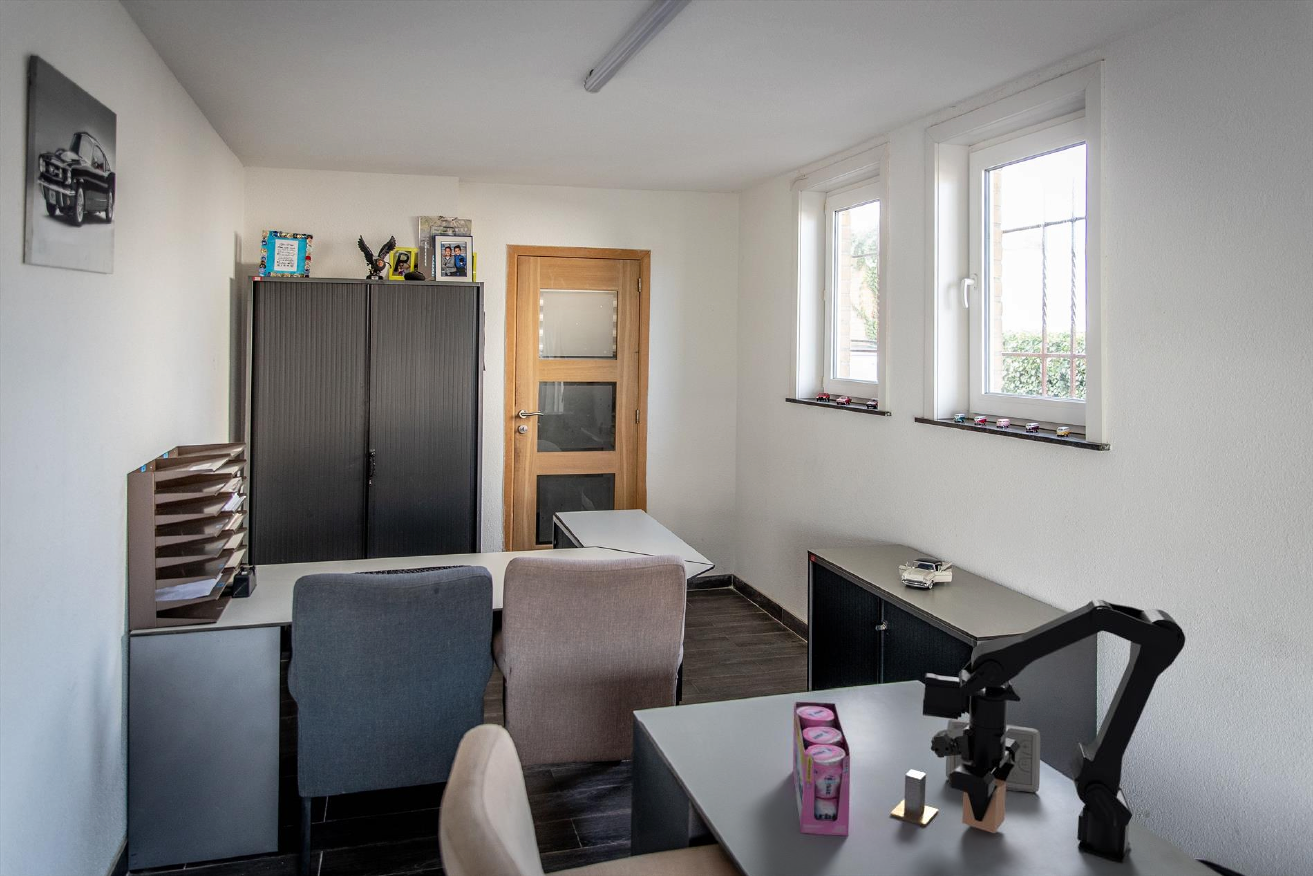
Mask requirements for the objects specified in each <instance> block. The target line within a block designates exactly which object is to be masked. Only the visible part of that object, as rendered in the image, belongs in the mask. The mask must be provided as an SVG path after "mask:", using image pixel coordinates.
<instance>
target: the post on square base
mask: <svg viewBox="0 0 1313 876" xmlns="http://www.w3.org/2000/svg"><path fill="white" fill-rule="evenodd" d="M926 779H927V773H925V772H923V771H918V770H916V769H910V770H909V771H908V772H907V773H905V777H904V798H903V799H902V801H901V802H899V803H898V804H897V806H896V807H895V808H894V809H893V810H892V811H891V812H890V814H889V815H890V816H891V817H894V818H897V819H900V820H903V821H906V822H909V823H912V824H915V825H918V826H922V827H925V828H926V826H927V825H929V823H930V822H931V821H932V820H933V818H934V817H935V816H936V815H937V814H938V813H939V809H938V808H934V807H930V806H928V805H926V787H927V786H926V783H927V780H926Z"/></svg>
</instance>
